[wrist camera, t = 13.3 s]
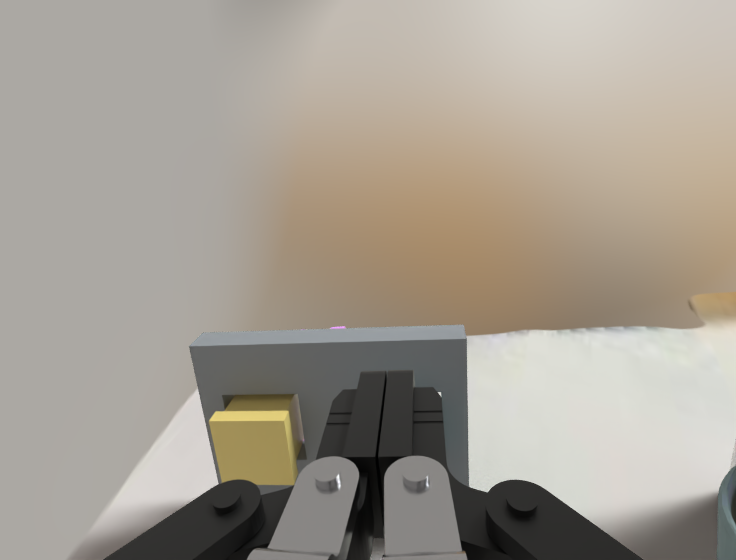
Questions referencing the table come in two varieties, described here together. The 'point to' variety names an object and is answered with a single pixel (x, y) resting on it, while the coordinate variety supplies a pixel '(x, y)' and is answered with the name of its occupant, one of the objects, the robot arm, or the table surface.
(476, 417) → the table surface
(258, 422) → the mustard button
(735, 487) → the teal cup
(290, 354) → the panel
